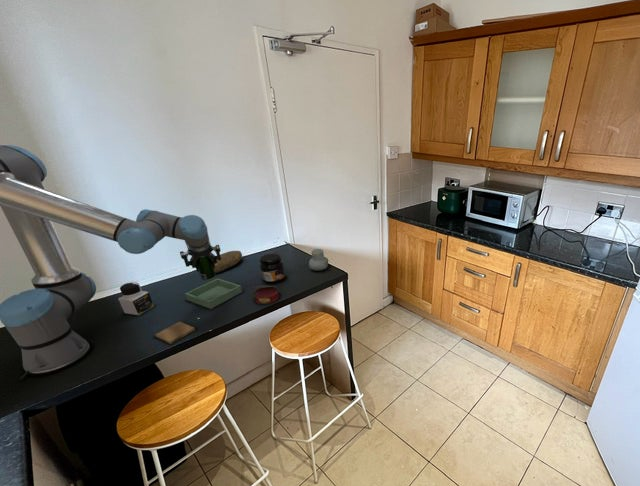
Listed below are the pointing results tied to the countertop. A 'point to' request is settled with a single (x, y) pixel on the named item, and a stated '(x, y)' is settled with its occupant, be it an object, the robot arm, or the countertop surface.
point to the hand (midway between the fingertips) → (205, 267)
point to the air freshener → (318, 260)
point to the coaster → (175, 332)
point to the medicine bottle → (134, 299)
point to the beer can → (205, 268)
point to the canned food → (266, 294)
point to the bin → (213, 293)
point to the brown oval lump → (227, 260)
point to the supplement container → (272, 268)
